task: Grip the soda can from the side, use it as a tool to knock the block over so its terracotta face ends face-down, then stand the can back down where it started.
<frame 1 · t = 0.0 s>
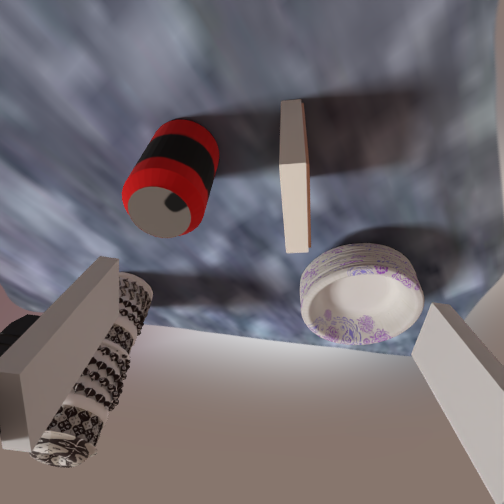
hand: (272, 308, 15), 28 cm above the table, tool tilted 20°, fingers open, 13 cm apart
paper bowls: (352, 267, 52), on the table
block: (293, 141, 40), on the table
soda can: (187, 149, 41), on the table
decorative candle: (127, 289, 59), on the table
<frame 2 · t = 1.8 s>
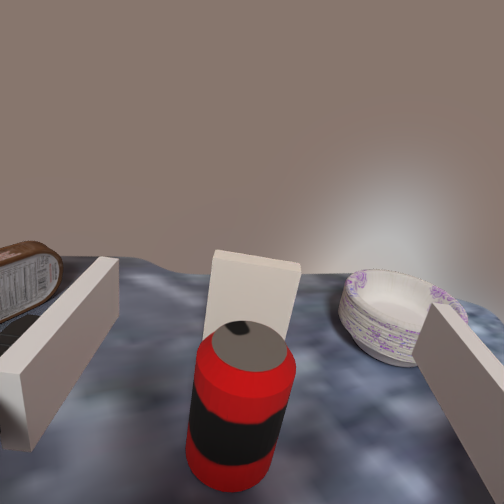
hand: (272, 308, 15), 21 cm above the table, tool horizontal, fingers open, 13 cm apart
paper bowls: (386, 344, 50), on the table
tin: (4, 318, 43), on the table
block: (239, 358, 43), on the table
soda can: (228, 452, 32), on the table
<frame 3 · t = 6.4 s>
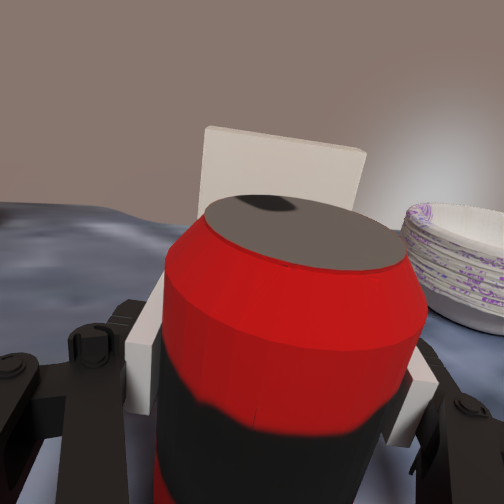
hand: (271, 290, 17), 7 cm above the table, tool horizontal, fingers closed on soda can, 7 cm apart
paper bowls: (466, 307, 34), on the table
block: (253, 325, 26), on the table
soda can: (245, 496, 15), on the table, touching gripper
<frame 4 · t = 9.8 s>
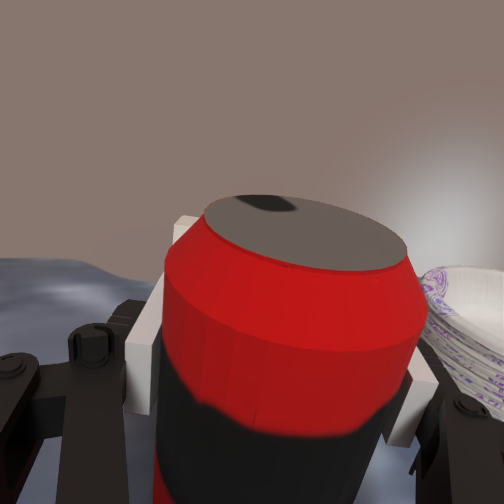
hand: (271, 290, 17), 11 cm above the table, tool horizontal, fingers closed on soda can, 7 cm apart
paper bowls: (489, 394, 29), on the table
block: (237, 446, 21), on the table, tilted 7°
soda can: (245, 497, 15), point 4 cm above the table, touching gripper
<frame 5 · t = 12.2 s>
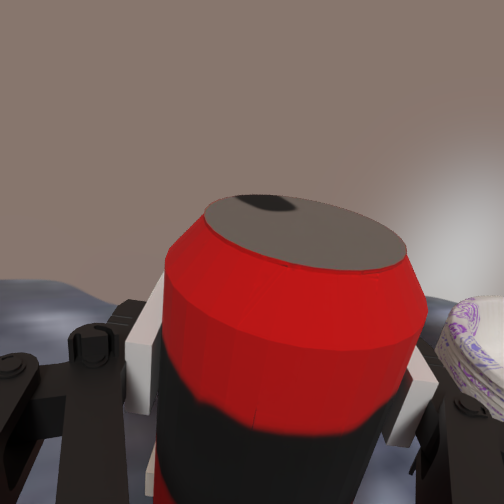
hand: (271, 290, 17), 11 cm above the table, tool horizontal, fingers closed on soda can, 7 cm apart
block: (234, 497, 18), point 1 cm above the table, tilted 90°
soda can: (245, 496, 15), point 4 cm above the table, touching gripper
when the fingers open (8 cm above the table, at t = 14.3 s): soda can drops 1 cm, on the table.
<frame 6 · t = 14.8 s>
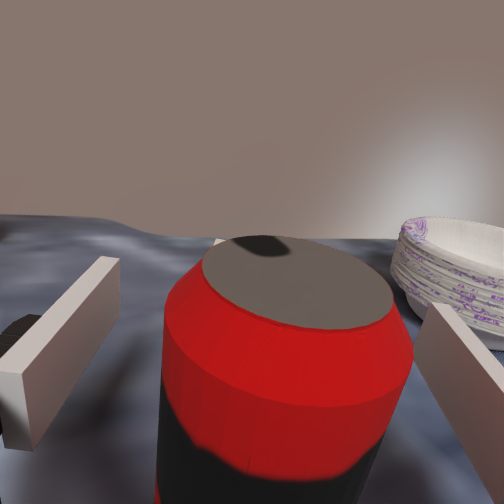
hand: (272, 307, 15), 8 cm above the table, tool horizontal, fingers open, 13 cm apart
paper bowls: (461, 321, 34), on the table
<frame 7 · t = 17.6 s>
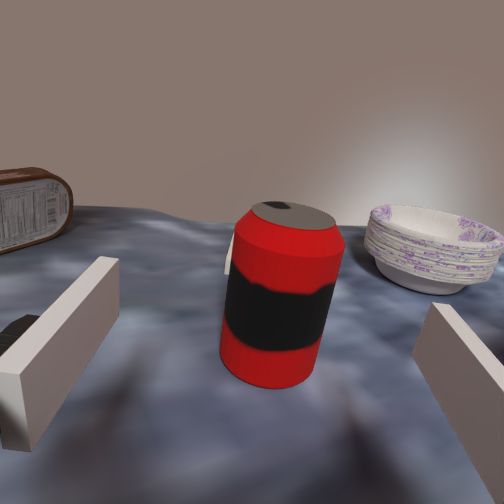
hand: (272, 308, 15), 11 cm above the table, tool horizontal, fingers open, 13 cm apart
paper bowls: (414, 279, 48), on the table
tin: (13, 249, 40), on the table
soda can: (265, 358, 29), on the table
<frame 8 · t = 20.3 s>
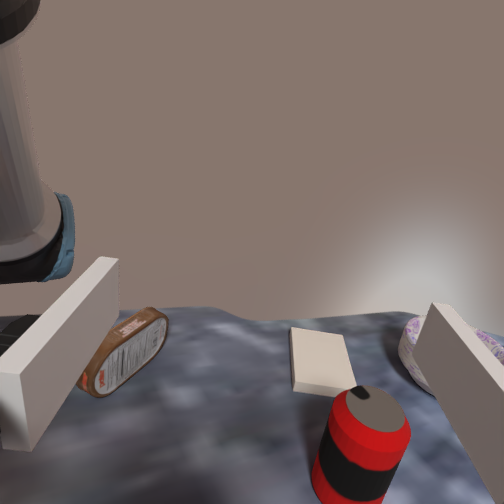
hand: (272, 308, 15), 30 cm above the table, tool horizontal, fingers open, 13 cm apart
paper bowls: (439, 382, 59), on the table
tin: (128, 374, 51), on the table
block: (325, 391, 52), point 1 cm above the table, tilted 90°
soda can: (344, 488, 40), on the table
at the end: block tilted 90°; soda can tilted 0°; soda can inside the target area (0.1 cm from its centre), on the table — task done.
